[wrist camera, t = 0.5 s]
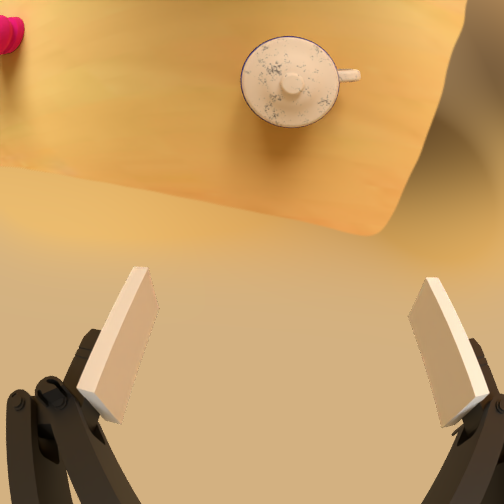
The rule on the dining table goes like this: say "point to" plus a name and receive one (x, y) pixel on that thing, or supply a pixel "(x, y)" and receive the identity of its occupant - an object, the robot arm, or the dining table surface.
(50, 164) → the dining table surface
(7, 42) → the pepper mill
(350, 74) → the teacup with lid
